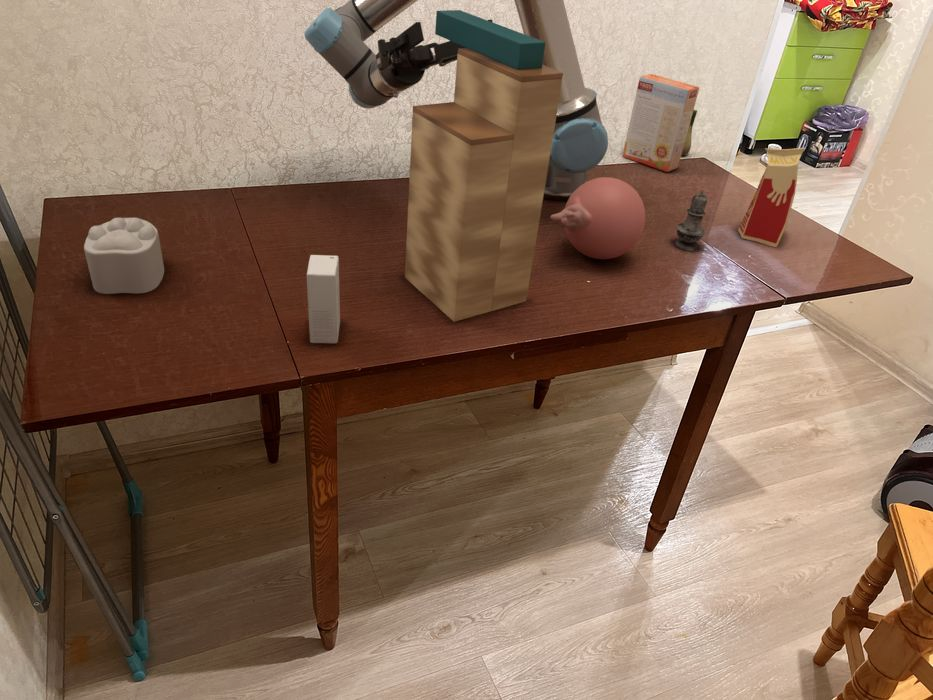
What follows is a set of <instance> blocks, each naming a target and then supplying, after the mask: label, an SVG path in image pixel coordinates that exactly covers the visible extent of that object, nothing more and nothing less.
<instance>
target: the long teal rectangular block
mask: <svg viewBox="0 0 933 700" xmlns="http://www.w3.org/2000/svg"><path fill="white" fill-rule="evenodd" d="M435 17H436V18H435V31H434V35H436V36H438V37H441V38H444V39H446V40H447V41H452V42H454V43H457V44H459V45H461V46H464V47H466V48H468V49H471V50H473V51H475V52H478V53H480V54H482V55H485V56H487V57H489V58H491V59H494V60H496V61H498V62H501V63H503V64H505V65H508V66H510V67H512V68H515V69H517V70H522V69H534V68H542V64H543V57H544V50H545V43H546V42H543V41H541V40H538V39H535V38H533V37H530V36H527V35H525V34H524V33H523V32H519V31H516V30H514V29H512V28H508V27H506V26H503V25H500V24H498V23H495V22H490V21H487V20H488V19H485V18H482V17H480V16H477V15H474V14H471V13H470V12H466V11H463V10H460V9H452V10H451V9H450V10H449V9H448V10H436V16H435Z"/></svg>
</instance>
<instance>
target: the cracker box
mask: <svg viewBox="0 0 933 700" xmlns="http://www.w3.org/2000/svg"><path fill="white" fill-rule="evenodd" d="M699 91H700V86H697V85H693V84H689V83H686V82H682V81H679V80H675V79H672V78H669V77H668V78H667V77H664V76H660V75H658V74H657V75H656V74H653V73H648V74H645V75H641V76H639V80H638V84H637V88H636V93H635V97H634V101H633V105H632V110H631V115H630V119H629V123H628V128H627V133H626V138H625V142H624V146H623V151H622V157H623V158H626V159H628V160H631V161H634V162H637V163H640V164H642V165H646V166H648V167H652V168H654V169H657V170H659V171H663V172H665V173H669V172H672V171H674V170H677V169H678V168H679V166H680V162H681V158H682V156H683V155H682V151H683V147H684V144H685V140H686V136H687V132H688V129H689V125H690V121H691V117H692V114H693V110H695V106H696V102H697V98H698V95H699Z"/></svg>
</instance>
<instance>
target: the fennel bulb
mask: <svg viewBox="0 0 933 700" xmlns="http://www.w3.org/2000/svg"><path fill="white" fill-rule="evenodd" d="M697 114H698V109H694V110H693V114H692V117H691V121H690V125H689V129H688V132H687V136H686V140H685V144H684V147H683V151H682V155H681V156H686V155H688V154H689V153H690V150H691V148H692V136H693V135H692V134H693V127H694V123H695V120H696V118H697V117H696V116H697Z"/></svg>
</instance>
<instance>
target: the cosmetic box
mask: <svg viewBox="0 0 933 700" xmlns="http://www.w3.org/2000/svg"><path fill="white" fill-rule="evenodd" d="M339 261H340V260H339V256H338V255H326V254H325V255H324V254H310V255H309V260H308V265H307V270H306V285H307V286H306V291H307V308H308V309H307V310H308V329H309V331H308V332H309V342H310V343H311V344H338V342H339V333H340V326H341V304H340V303H341V301H340V298H341V297H340V262H339Z"/></svg>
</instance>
